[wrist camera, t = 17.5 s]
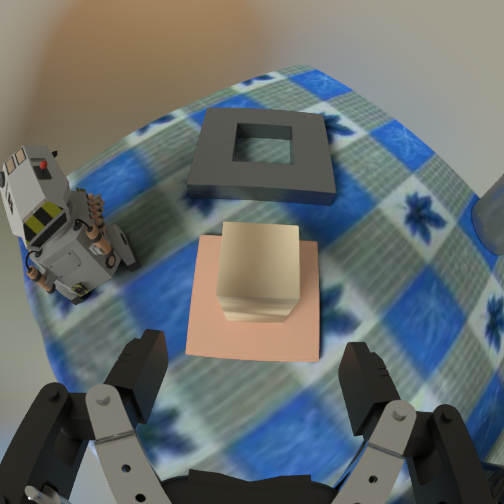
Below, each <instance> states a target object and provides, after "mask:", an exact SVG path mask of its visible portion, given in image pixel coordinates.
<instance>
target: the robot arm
mask: <svg viewBox="0 0 504 504" xmlns="http://www.w3.org/2000/svg"><path fill="white" fill-rule="evenodd" d="M472 221H473V225H474V228H475V231H476V233H477V235H478V237H479V238H480V240H481V242H482V243H483V244H484V246H485V247H486V248H487V249H488V250H489V251H490V252H492V253H493V254H496V255H502V254H503V253H504V175H503V176H502V177H501V178H500V179H499V180H498V181H497V182H496V183H495V184H494V185H493V186H492V187H491V188H490V189H489V191H487V193H485V195H484V196H483V197H482V198H481V199H480V200H479V201H478V202H477V203H476V204H475V205H474V206H473V208H472ZM167 367H168V353H167V347H166V341H165V335H164V332H163V331H158V330H152V329H146V330H145V331H144V333H143V335H142V337H141V338H140V339H137V338H134V339H133V340H132V341H130V342H129V343H128V344H126V346H125V348H124V349H123V351H122V354H120V356H119V358H118V361H116V363H115V365H114V366H113V368H112V370H111V371H110V373H109V375H108V377H107V378H106V380H105V382H104V383H103V384H100V385H96V386H94V387H92V388H91V389H90V390H89V391H88V392H87V393H69V392H68V390H67V389H66V387H65V386H64V385H63V384H61V383H56V382H54V383H50V384H47V385H45V386H44V387H43V388H42V389H41V390H40V392H39V394H38V395H37V397H36V398H35V400H34V402H33V403H32V405H31V407H30V409H29V410H28V412H27V414H26V415H25V417H24V419H23V421H22V422H21V424H20V426H19V428H18V430H17V432H16V433H15V435H14V437H13V439H12V441H11V443H10V445H9V447H8V449H7V451H6V453H5V455H4V457H3V459H2V461H1V464H0V504H71V503H70V502H69V501H68V500H69V497H70V494H71V491H72V488H73V484H74V482H75V479H76V476H77V472H78V470H79V467H80V464H81V462H82V459H83V456H84V453H85V451H86V448H87V445H88V443H89V440H96V442H95V448H96V451H97V454H98V457H99V460H100V463H101V466H102V468H103V471H104V474H105V476H106V479H107V481H108V484H109V486H110V488H111V491H112V493H113V495H114V497H115V500H116V502H117V504H384V503H385V501H386V499H387V497H388V495H389V493H390V491H391V489H392V487H393V485H394V483H395V481H396V479H397V477H398V475H399V472H400V470H401V468H402V465H403V463H404V460H405V457H406V461H407V465H408V469H409V473H410V477H411V482H412V486H413V490H414V495H415V500H416V504H494V501H493V498H492V495H491V491H490V488H489V485H488V482H487V479H486V476H485V473H484V471H483V468H482V465H481V462H480V460H479V457H478V455H477V452H476V450H475V447H474V445H473V442H472V440H471V438H470V435H469V433H468V431H467V429H466V426H465V424H464V422H463V420H462V418H461V415H460V413H459V412H458V410H457V409H456V408H455V407H453V406H451V405H447V404H443V405H440V406H438V407H437V408H436V409H435V410H434V412H433V413H432V412H419V411H415V409H414V407H413V406H412V405H411V404H409V403H408V402H406V401H402V400H401V399H400V396H399V394H398V392H397V390H396V388H395V385H394V383H393V381H392V379H391V377H390V376H389V372H388V370H387V369H386V366H385V364H384V362H383V360H382V359H381V358H380V357H379V356H378V355H377V354H376V353H375V352H371V353H370V351H369V349H368V347H367V345H366V343H365V342H348V343H347V345H346V348H345V351H344V354H343V357H342V360H341V363H340V366H339V372H338V376H339V382H340V385H341V389H342V393H343V396H344V400H345V404H346V407H347V411H348V415H349V419H350V423H351V427H352V431H353V435H354V436H360V435H363V438H364V441H363V442H362V444H361V446H360V447H359V449H358V451H357V452H356V454H355V456H354V457H353V459H352V461H351V462H350V464H349V465H348V467H347V469H346V470H345V472H344V473H343V475H342V476H341V477H340V479H339V480H338V481H337V483H336V484H335V485H334V487H333V488H332V487H330V486H328V485H325V484H322V483H319V482H315V481H311V476H310V475H293V476H278V477H274V478H269V479H264V480H258V481H252V482H249V481H244V480H241V479H237V478H234V477H230V476H227V475H224V474H221V473H215V472H206V471H199V470H193V469H190V470H189V475H184V476H177V477H173V478H169V479H167V480H164V481H161V479H160V477H159V475H158V474H157V472H156V470H155V469H154V467H153V465H152V463H151V461H150V459H149V457H148V455H147V453H146V451H145V449H144V447H143V445H142V443H141V441H140V439H139V437H138V435H137V432H136V430H135V429H136V426H137V424H138V423H141V424H145V425H146V424H147V422H148V419H149V416H150V413H151V411H152V408H153V405H154V402H155V400H156V397H157V394H158V392H159V389H160V386H161V384H162V381H163V378H164V376H165V373H166V371H167ZM437 452H438V453H437ZM438 455H439V456H438Z"/></svg>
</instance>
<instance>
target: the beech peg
mask: <svg viewBox="0 0 504 504" xmlns="http://www.w3.org/2000/svg"><path fill="white" fill-rule="evenodd" d="M216 296H217V298H218V301H219V303H220V306H221V308H222V310H223V313H224V315H225V317H226V320H227V321H239V322H257V323H281V324H282V323H283V322H284V320H285V319H286V317H287V316H288V315H289V313H290V312H291V310H292V309H293V308H294V306H295V305H296V303H297V302H298V301H299V299H300V267H299V226H294V225H277V224H259V223H240V222H224V223H223V232H222V241H221V250H220V260H219V269H218V279H217V290H216Z"/></svg>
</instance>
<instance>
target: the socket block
mask: <svg viewBox="0 0 504 504" xmlns="http://www.w3.org/2000/svg"><path fill="white" fill-rule="evenodd" d="M238 137H254V138H271V139H285V140H290V156H291V165H287V164H274V163H258V162H236V161H235V153H236V146H237V139H238ZM187 187H188V191H189V194H190V197H191V198H216V199H239V200H258V201H274V202H289V203H302V204H314V205H325V206H331V204H332V202H333V199H334V197H335V195H336V188H335V181H334V174H333V168H332V162H331V156H330V150H329V144H328V139H327V133H326V128H325V123H324V118H323V115H321V114H314V113H305V112H296V111H285V110H272V109H255V108H207V111H206V114H205V118H204V121H203V124H202V128H201V131H200V135H199V139H198V142H197V146H196V150H195V153H194V157H193V161H192V165H191V169H190V173H189V177H188V181H187Z"/></svg>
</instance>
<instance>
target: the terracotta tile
mask: <svg viewBox="0 0 504 504" xmlns="http://www.w3.org/2000/svg"><path fill="white" fill-rule="evenodd" d="M221 241H222V236H214V235H200V241H199V247H198V254H197V261H196V268H195V275H194V283H193V291H192V299H191V307H190V316H189V325H188V334H187V344H186V354H187V355H195V356H205V357H215V358H226V359H239V360H256V361H282V362H319V271H318V246H317V242H315V241H300V240H299V267H300V299H299V301H298V302H297V303H296V305H295V306H294V308H293V309H292V310H291V312H290V313H289V315H288V316H287V317H286V319H285V320H284V322H283V323H282V324H281V323H257V322H239V321H227V320H226V317H225V315H224V313H223V310H222V308H221V306H220V303H219V301H218V298H217V296H216V290H217V279H218V269H219V260H220V250H221Z"/></svg>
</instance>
